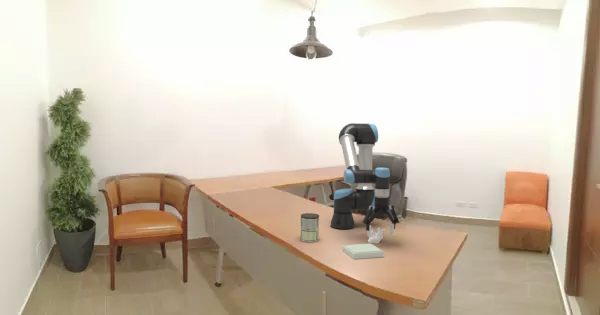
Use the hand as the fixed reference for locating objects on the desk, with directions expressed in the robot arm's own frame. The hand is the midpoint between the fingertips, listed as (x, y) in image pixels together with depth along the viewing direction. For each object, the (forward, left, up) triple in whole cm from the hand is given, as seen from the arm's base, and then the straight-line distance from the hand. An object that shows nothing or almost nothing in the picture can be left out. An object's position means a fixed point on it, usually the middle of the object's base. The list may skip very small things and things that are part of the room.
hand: (380, 236), depth 215 cm
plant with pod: (-73, +24, -6) cm, 77 cm away
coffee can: (-21, -33, -6) cm, 40 cm away
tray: (+10, -15, -6) cm, 19 cm away
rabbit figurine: (-6, +2, -6) cm, 9 cm away
